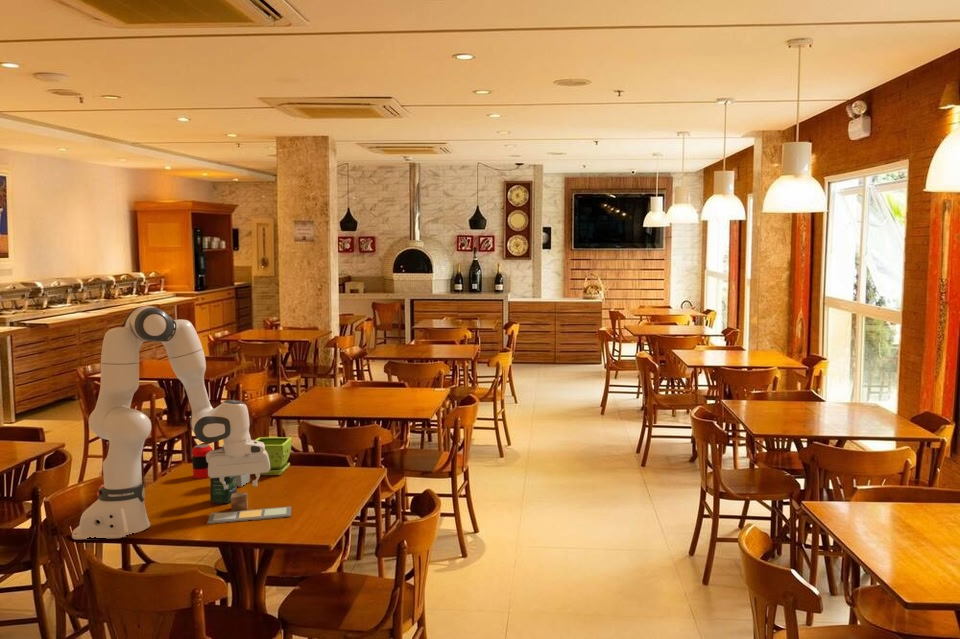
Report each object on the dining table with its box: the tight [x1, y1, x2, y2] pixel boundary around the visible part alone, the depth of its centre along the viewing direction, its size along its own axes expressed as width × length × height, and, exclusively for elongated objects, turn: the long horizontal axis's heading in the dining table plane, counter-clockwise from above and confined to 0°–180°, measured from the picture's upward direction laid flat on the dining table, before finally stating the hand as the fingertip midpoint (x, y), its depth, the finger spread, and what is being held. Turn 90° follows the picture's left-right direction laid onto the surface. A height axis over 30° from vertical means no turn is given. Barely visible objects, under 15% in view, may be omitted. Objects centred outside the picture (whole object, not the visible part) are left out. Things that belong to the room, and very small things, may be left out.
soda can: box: [191, 443, 213, 480], centre depth 328 cm, size 8×8×12 cm
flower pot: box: [253, 436, 293, 476], centre depth 331 cm, size 14×14×13 cm
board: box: [206, 505, 292, 525], centre depth 276 cm, size 26×10×1 cm, turn 102°
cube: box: [230, 491, 249, 512], centre depth 284 cm, size 5×5×5 cm
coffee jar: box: [209, 446, 238, 505], centre depth 294 cm, size 10×8×19 cm
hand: (240, 487), depth 284 cm, fingers open, 8 cm apart
